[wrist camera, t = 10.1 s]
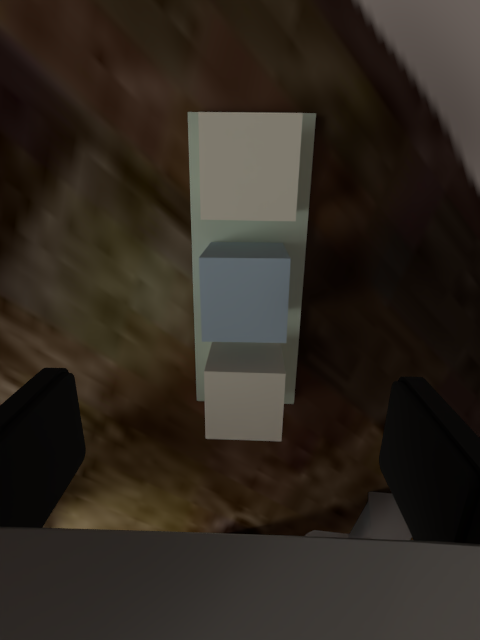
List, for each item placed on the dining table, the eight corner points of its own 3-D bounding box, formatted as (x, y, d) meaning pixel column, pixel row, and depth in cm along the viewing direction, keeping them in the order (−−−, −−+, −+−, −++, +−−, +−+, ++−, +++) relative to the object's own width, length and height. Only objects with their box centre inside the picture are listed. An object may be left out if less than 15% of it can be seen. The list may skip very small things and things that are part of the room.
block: (279, 310, 27) (286, 343, 21) (212, 309, 27) (201, 341, 22) (282, 242, 25) (290, 258, 20) (211, 241, 25) (198, 257, 20)
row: (292, 397, 31) (303, 454, 24) (198, 394, 31) (183, 450, 24) (313, 116, 23) (336, 88, 17) (190, 115, 24) (166, 87, 17)
